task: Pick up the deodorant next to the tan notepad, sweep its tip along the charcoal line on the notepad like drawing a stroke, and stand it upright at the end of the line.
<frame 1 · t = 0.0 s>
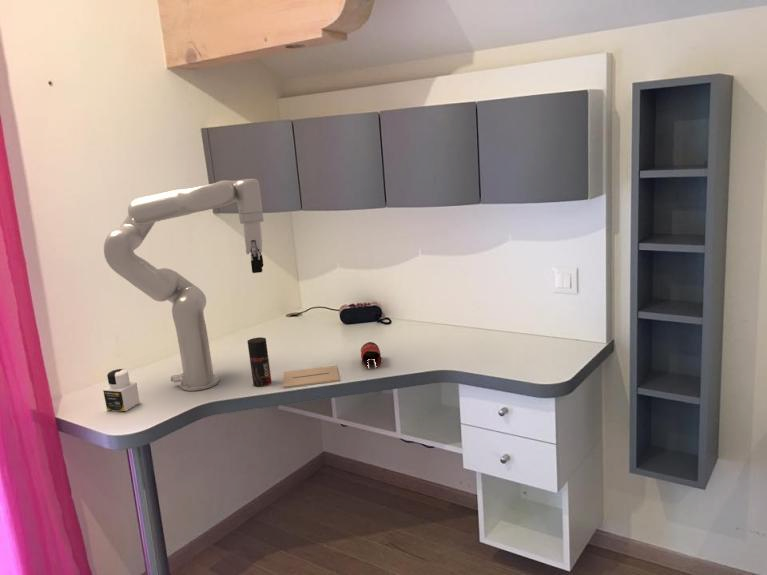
hand: (258, 269, 214), 37 cm above the table, tool pointing down, fingers open, 9 cm apart
beverage can: (371, 364, 225), on the table
medicine bottle: (123, 407, 205), on the table
deodorant: (262, 384, 215), on the table
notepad: (311, 377, 217), on the table
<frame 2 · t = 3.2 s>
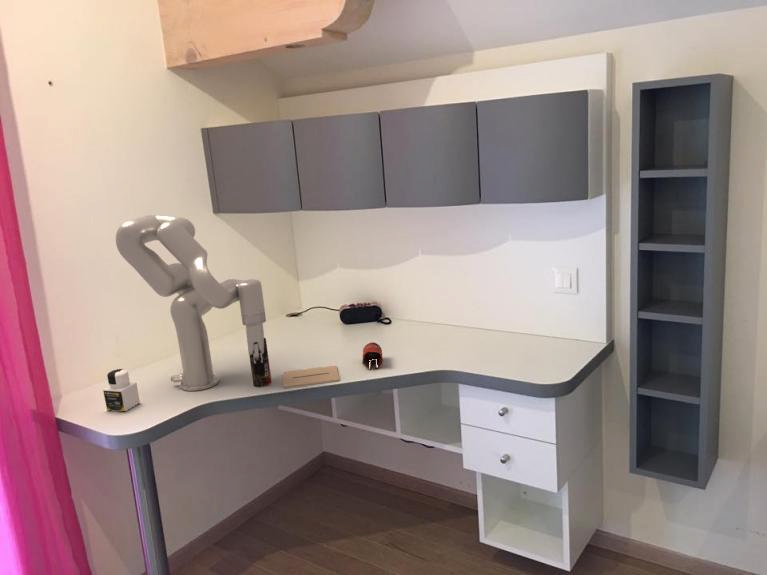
hand: (260, 370, 214), 5 cm above the table, tool pointing down, fingers closed on deodorant, 5 cm apart
deodorant: (262, 384, 215), on the table, touching gripper
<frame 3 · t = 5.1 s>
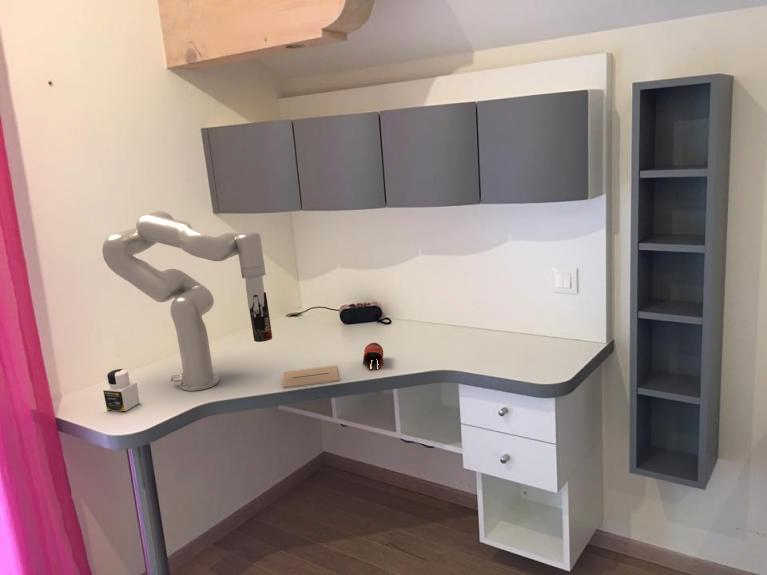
hand: (261, 325, 211), 20 cm above the table, tool pointing down, fingers closed on deodorant, 5 cm apart
deodorant: (263, 339, 212), point 15 cm above the table, touching gripper
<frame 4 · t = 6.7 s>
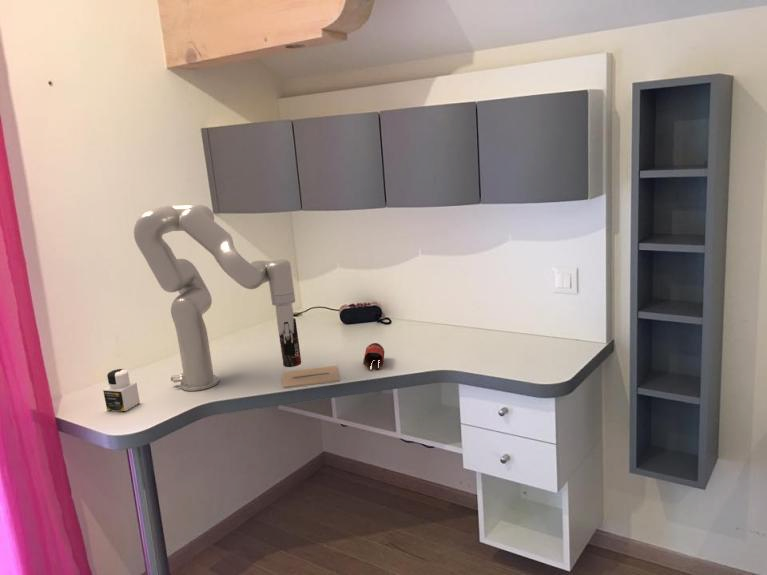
hand: (290, 351, 214), 10 cm above the table, tool pointing down, fingers closed on deodorant, 5 cm apart
deodorant: (292, 364, 215), point 5 cm above the table, touching gripper
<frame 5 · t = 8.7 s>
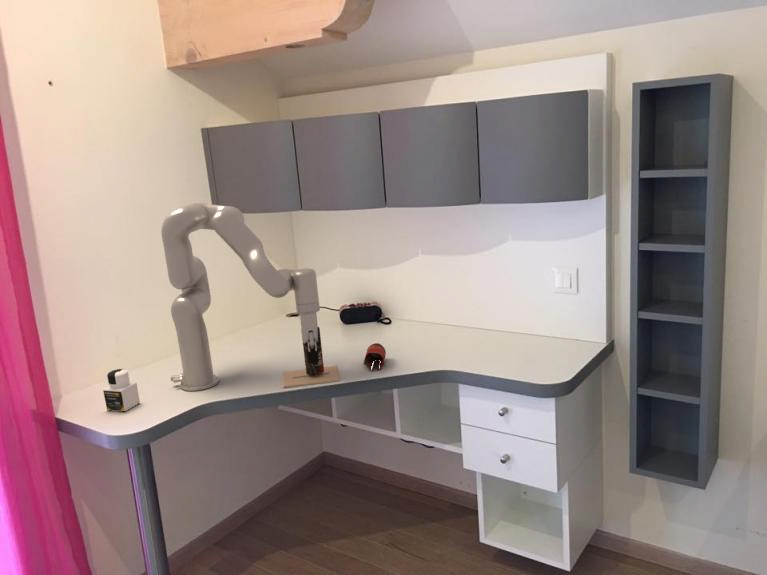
hand: (313, 359, 216), 6 cm above the table, tool pointing down, fingers closed on deodorant, 5 cm apart
deodorant: (315, 372, 217), point 1 cm above the table, touching gripper
when the fingers open (5 cm above the table, at t = 10.4 s): deodorant stays where it is, resting on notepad.
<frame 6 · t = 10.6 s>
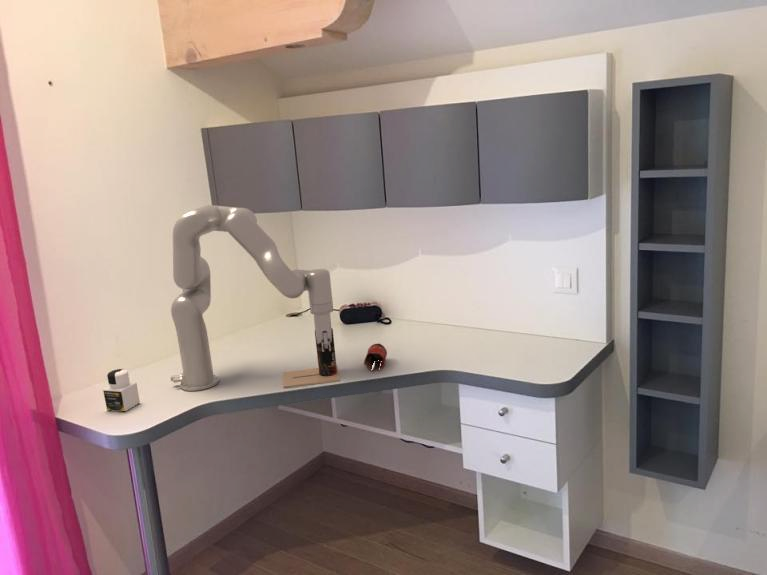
hand: (327, 358, 216), 6 cm above the table, tool pointing down, fingers open, 7 cm apart
deodorant: (328, 373, 217), resting on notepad
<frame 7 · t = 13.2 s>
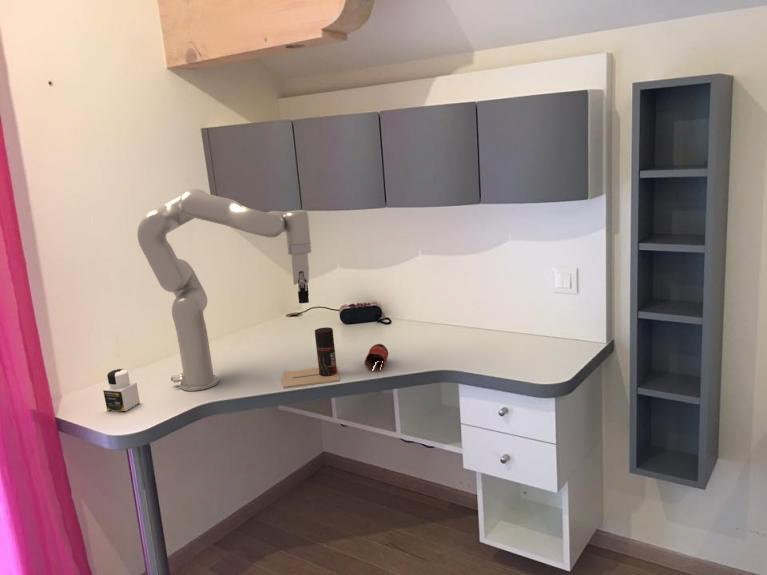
hand: (304, 299, 216), 25 cm above the table, tool pointing down, fingers open, 9 cm apart
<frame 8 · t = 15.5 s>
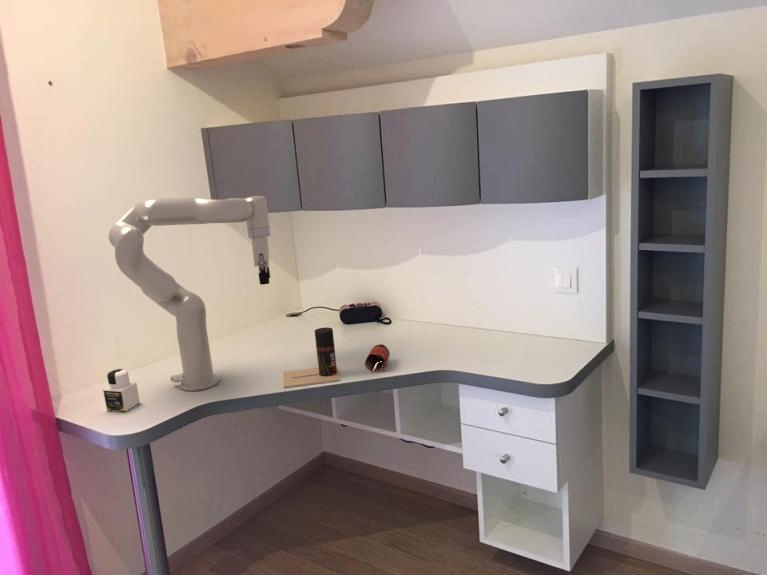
hand: (265, 281, 227), 30 cm above the table, tool pointing down, fingers open, 9 cm apart
at the end: deodorant inside the target area on the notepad (0.3 cm from its centre), point 0.5 cm above the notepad's base; deodorant tilted 0°; the gripper is holding nothing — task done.
